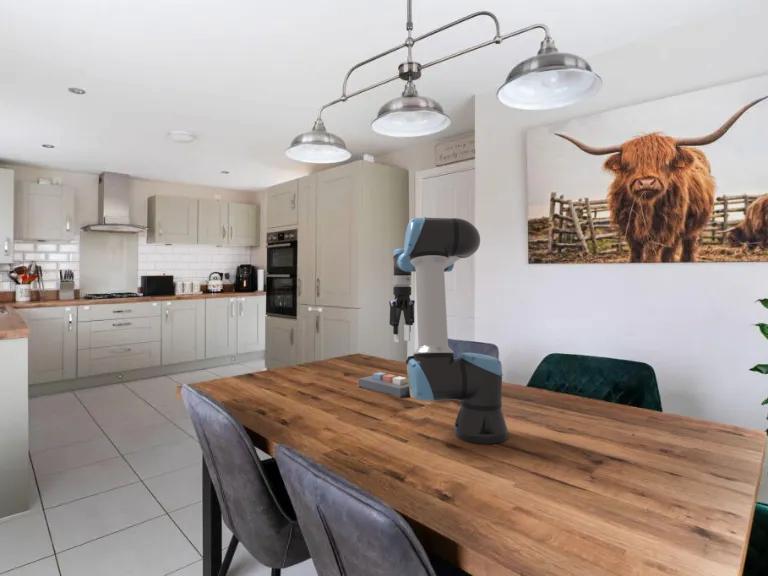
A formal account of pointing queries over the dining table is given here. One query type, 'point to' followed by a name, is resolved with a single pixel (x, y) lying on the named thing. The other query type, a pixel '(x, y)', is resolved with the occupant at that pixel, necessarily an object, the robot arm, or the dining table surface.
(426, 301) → the robot arm
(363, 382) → the console
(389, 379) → the key red
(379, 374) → the key blue
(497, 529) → the dining table surface
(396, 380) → the key ivory
